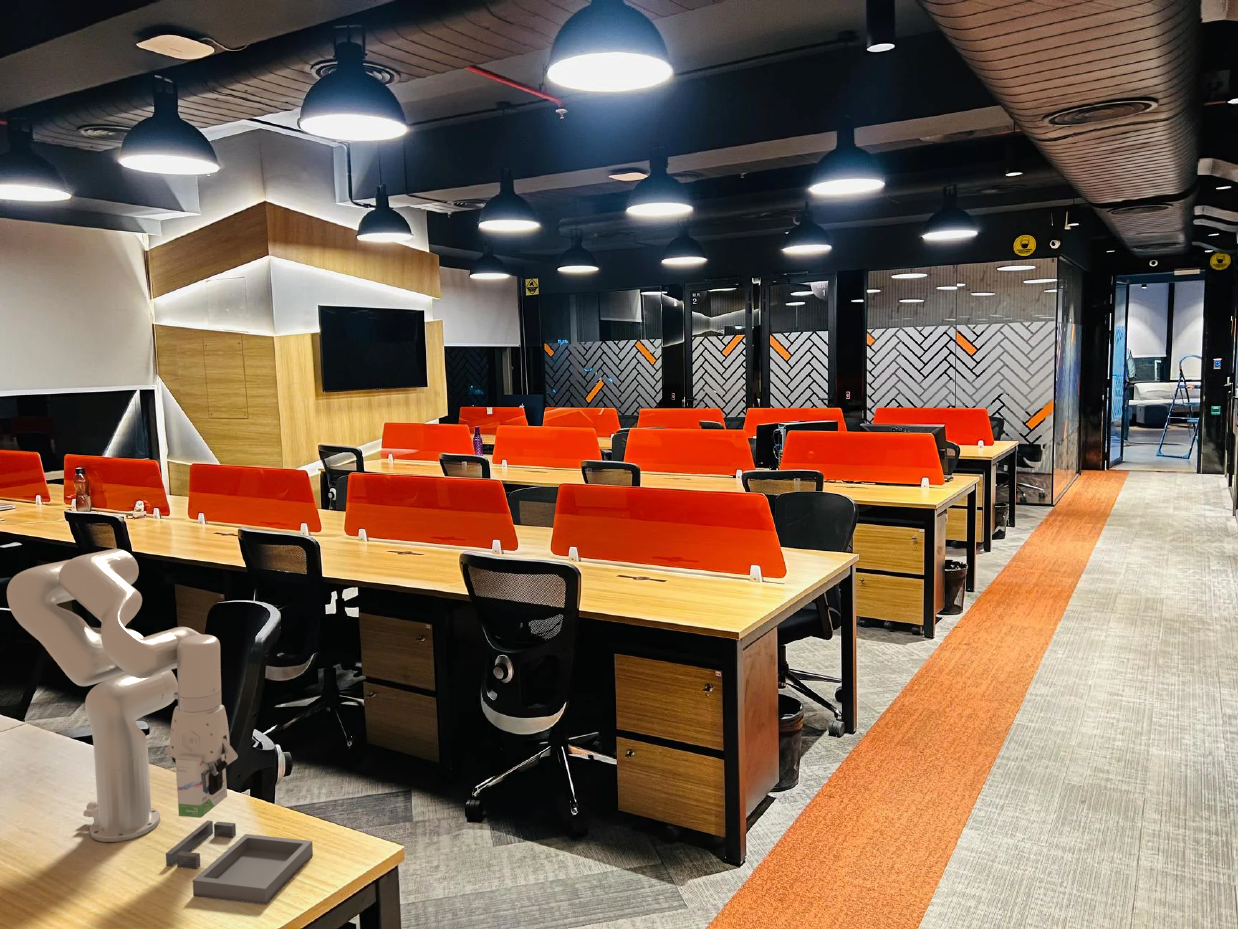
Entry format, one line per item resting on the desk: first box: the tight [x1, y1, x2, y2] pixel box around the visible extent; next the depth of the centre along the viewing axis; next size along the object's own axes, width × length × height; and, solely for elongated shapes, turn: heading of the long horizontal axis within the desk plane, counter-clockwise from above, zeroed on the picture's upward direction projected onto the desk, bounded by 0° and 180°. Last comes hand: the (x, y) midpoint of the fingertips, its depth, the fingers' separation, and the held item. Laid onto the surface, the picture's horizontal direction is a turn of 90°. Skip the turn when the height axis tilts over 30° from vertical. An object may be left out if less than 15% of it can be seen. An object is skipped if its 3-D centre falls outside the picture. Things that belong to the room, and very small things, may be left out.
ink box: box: [175, 754, 228, 819], centre depth 174 cm, size 9×5×12 cm, turn 169°
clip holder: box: [165, 820, 237, 870], centre depth 175 cm, size 6×13×2 cm, turn 170°
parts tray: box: [192, 833, 314, 906], centre depth 167 cm, size 14×16×3 cm
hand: (202, 789), depth 174 cm, fingers closed on ink box, 5 cm apart
